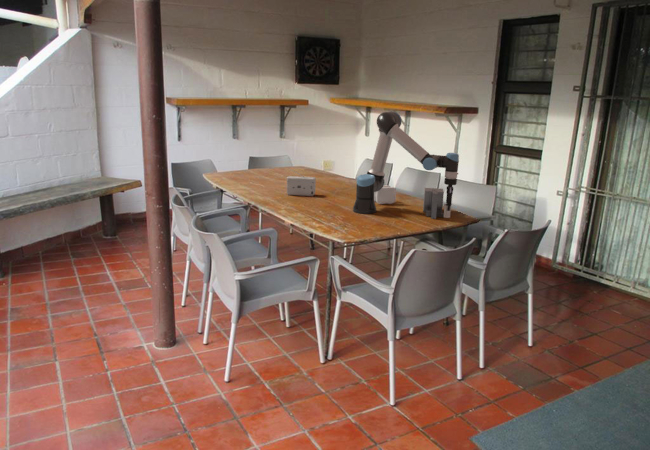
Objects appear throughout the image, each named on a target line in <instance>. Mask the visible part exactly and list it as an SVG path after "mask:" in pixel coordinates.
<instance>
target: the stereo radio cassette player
mask: <svg viewBox="0 0 650 450" xmlns="http://www.w3.org/2000/svg"><path fill="white" fill-rule="evenodd" d="M289 170H290V171H293V172H294V173H295V174H297V175H299V176H295V175H294V176H293V175H291V176H290V175H289V176H287V177H286V194H287V195H288V196H304V197H305V196H308V197H313V196H314V195H315V194H316V185H317V184H316V183H317V182H316V181H317V179H316V177H315V176H313V177H312V176H304V175H302V174H300V173H299V172H296V171H294V169H293V170H292V169H290V168H289Z"/></svg>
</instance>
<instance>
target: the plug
mask: <svg viewBox="0 0 650 450" xmlns="http://www.w3.org/2000/svg"><path fill="white" fill-rule="evenodd" d="M446 206H447V205H446V203H443V212H442V213H436V218H437V217H439V218H447V219H450V218H451V215H450V216H448V215H446ZM425 217H431V211H427V210H426V212H425Z"/></svg>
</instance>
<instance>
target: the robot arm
mask: <svg viewBox="0 0 650 450" xmlns="http://www.w3.org/2000/svg"><path fill="white" fill-rule="evenodd" d="M402 122H403V121H402V117H401V115H400V114H399V113H398V112H396V111H384V112H381V113H380V114H379V115H378V116H377V119H376V125H377V126H376V127H377V128H378V132H379V137H378V140H377V145H376V148H375V151H374V155H373V159H372V162H371V166H370V168H369V169H367V171H366V174H359V175H358V176H357V178H356V188H355V189H356V190H355V191H356V192H355V193H356V196H355V201H354V204H353V206H352V207H353V208H352V212H354V213H356V214H357V213H358V214H363V215H364V214H365V215H367V214H375V213H377V206H376V202H374V192H377V191H379V190H380V189H381V188H382V187H383V186H384V185H385V172H384V171H385V167H386V162H387V160H388V156H389V153H390V149H391V145H392V142H393V140H394V141H395V142H396V143H397V144H399V146H401V147H402V148H403V149H404V150H406V152H407V153H409V154H410V155H411V156H412V157H413V158H414V159H416V161H418V162H419V163H420V164H421V165H422V167H423V169H424V170H426V171H433V170H435V169H437V168H442V169H443V168H444V185H447V186H446V199H445V204H446V205H447V206H446V215H448V216H450V217H451V211H452V202H453V200H452V199H453V193H454V186H456V185H457V184H458V179H457V178H458V175H459V172H458V171H459V170H458V169H459V162H460V160H459V159H460V154H459V153H457V152H447V153H446V155H437V154H430V153H429V152H428V151H427V150H425V148H424V147H422V146H421V145H420V144H419V143H418V142H417V141H415V140H414V139H413V138H412V137H411V136H410V135H409V134H408V133H406V132H405V131H404V130H403V129H402V128H401V125H402Z"/></svg>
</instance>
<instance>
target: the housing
mask: <svg viewBox="0 0 650 450" xmlns="http://www.w3.org/2000/svg"><path fill="white" fill-rule="evenodd" d="M423 190H424V191H423V204H422V210H423V213H426V210H427V211H431V216H430V219H433V220H436V219H437V217H436V213H443V208H444V195H445V194H444V193H445V191H444V189H443V188H437V187H436V188H434V187H424V189H423Z"/></svg>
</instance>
